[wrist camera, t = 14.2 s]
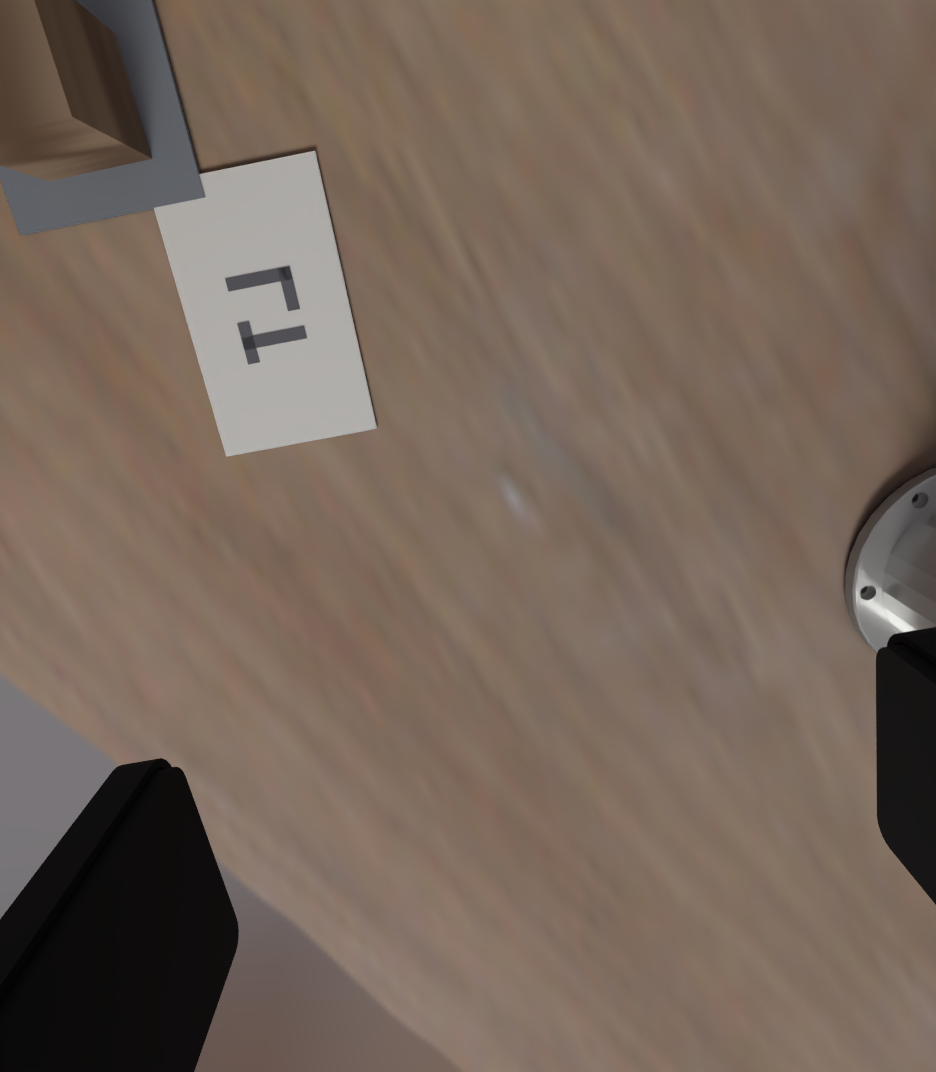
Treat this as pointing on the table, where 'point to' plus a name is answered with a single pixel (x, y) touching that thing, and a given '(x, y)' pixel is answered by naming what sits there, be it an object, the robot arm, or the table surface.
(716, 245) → the table surface
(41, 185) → the rubber mat
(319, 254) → the card
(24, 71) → the walnut block
